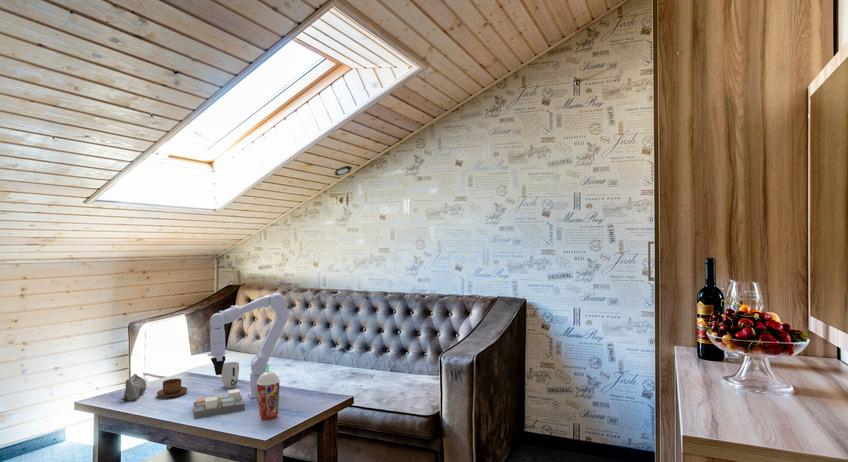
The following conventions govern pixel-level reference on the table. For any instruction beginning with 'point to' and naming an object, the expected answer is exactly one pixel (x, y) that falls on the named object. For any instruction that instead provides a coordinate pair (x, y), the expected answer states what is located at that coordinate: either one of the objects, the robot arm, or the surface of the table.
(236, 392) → the cream key
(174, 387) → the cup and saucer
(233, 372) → the cup
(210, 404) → the cream key
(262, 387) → the smoothie
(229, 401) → the blue key
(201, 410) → the keypad board
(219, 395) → the sage key
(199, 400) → the terracotta key
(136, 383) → the mineral rock
